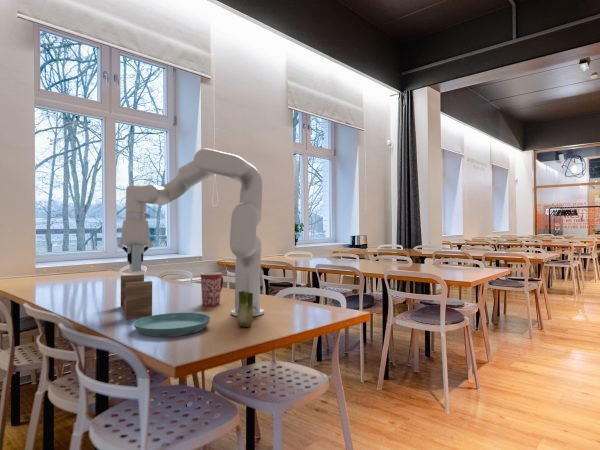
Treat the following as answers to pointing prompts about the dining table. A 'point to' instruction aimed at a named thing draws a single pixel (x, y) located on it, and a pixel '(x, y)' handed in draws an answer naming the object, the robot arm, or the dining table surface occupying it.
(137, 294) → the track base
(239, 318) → the fennel bulb
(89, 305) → the dining table surface
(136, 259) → the door panel
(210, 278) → the mug
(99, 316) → the dining table surface
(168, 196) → the robot arm
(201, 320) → the teal plate
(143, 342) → the dining table surface
